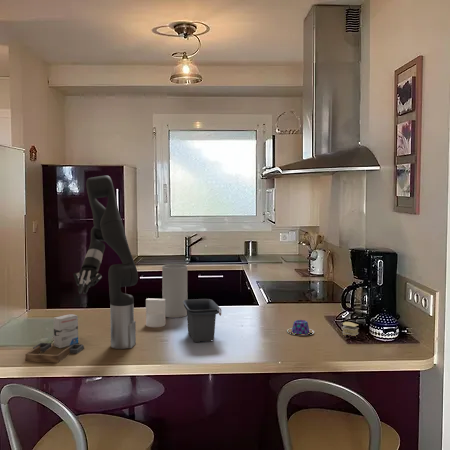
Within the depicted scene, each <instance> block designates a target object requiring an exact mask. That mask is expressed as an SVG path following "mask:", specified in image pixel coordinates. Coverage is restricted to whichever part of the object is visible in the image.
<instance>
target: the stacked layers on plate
mask: <svg viewBox="0 0 450 450" xmlns="http://www.w3.org/2000/svg"><path fill="white" fill-rule="evenodd" d="M342 325H343V326H342V327H341V328H342V336H343V335H351V336H356V335H358V336H359V334H360V333H359V329H360V328H359V327H357V326H359V324H357V323H355V322H351V321H344V322H342Z"/></svg>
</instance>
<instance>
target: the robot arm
mask: <svg viewBox="0 0 450 450" xmlns="http://www.w3.org/2000/svg"><path fill="white" fill-rule="evenodd" d="M85 183H86V184H85V187H86V193H87V197H88V202H89V206H90V208H91V213H92V221H93V222H92V223H93V227H92V228H91V230H90V244H89V247H88V250H87V252H86V254H85V258H84V259H83V262H82V265H81V269H80V270H79V272H74V273H72V274H73V278H74V281H75V283H76V286H78V287H77V292H78V295H82V294H83V295H86V294H87V293H88V291H89V288H91V287H95V285H97V284H98V282H100V280H102V279H103V276H102V274H101V273H99V271H100V267H101V264H102V260H103V256H104V252H105V250H106V245H105V243H106V244H107V245H108V246H109V247H110V249H112V250H113V251H114V252H115V253H116V254H117V256H118V257H119V259H120V261H121V263H117V264H116V263H115V264H112V265H111V264H110V266H109V268H108V274H107V275H108V279H107V280H108V292H109V294H108V295H109V301H110V302H109V305H110V311H109V312H110V321H109V322H110V347H111V348H112V349H115V350H116V349H117V350H124V349H132V348H133V347H134V346H135V345H136V342H137V341H136V338H137V337H136V335H137V334H136V331H137V330H136V326H137V325H136V320H135V313H134V312H135V311H134V309H135V307H134V305H135V303H134V302H135V301H134V300H135V299H134V296H133V295H132V294H128V293H124V292H122V288H125V287H132V286H135V285H137V283H138V280H139V274H138V269H137V265H136V262H135V259H134V258H133V255H132V253H131V250H130V247H129V243H128V242H129V241H128V240H127V236H126V235H127V234H126V231H125V228H124V224H123V223H124V222H123V219H122V217H121V213H120V210H119V206H118V203H117V202H118V201H117V199H116V198H117V197H116V192H115V188H114V184H113V180H112V178H111V176H109V175H99V176H94V177H93V176H91V177H88V178H87V179H86V182H85ZM102 198H107V202H106V203H107V204H106V207H105V206H104V205H103V204H102V203H101V202H99V200H98V199H102ZM79 278H80V279H79Z"/></svg>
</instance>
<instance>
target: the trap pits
mask: <svg viewBox="0 0 450 450" xmlns="http://www.w3.org/2000/svg"><path fill="white" fill-rule="evenodd" d="M84 345H85V344H79V343H77V344H73V345H70V346H67V347H68V348H69V351H70V354H79V353H80V352H81V351H83V350H84V347H85V346H84ZM38 346H40V353H44V352H47V351H48V350H49V349H50V348H52V342H51V343H50V342H40V343H38V344H36V345H35V346H34V347H32V350H33V349H34V348H36V347H38Z"/></svg>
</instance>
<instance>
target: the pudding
mask: <svg viewBox="0 0 450 450" xmlns="http://www.w3.org/2000/svg"><path fill="white" fill-rule="evenodd" d="M289 329H292V332H293V333H296V334H306V335H308V333H309V332H310V331H309V330H312V332H313V333H312V334H310V333H309V334H310V335H313V334H314V333H315V330H313V329H311V328H310V327H309V323H308V321H306V320H304V319H303V320H302V319H297V320H294V321H293V324H292V327H291V328H288V329H287V330H286V331H287V333H289V332H288V330H289ZM294 335H295V334H293V336H294ZM310 335H309V336H310Z"/></svg>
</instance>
